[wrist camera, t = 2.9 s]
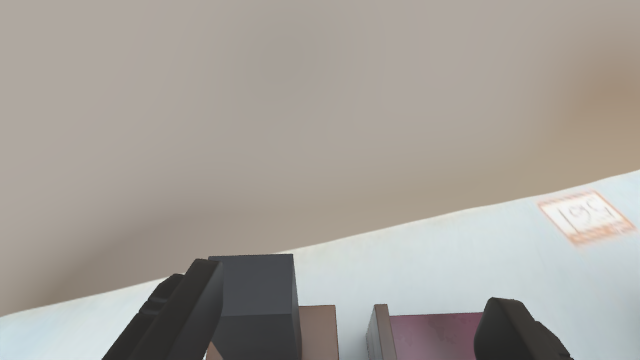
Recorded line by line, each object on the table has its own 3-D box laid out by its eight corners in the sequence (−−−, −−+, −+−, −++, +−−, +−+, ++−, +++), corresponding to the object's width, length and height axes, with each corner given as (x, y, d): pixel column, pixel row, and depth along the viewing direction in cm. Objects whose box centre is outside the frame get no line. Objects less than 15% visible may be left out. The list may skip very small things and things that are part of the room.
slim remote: (301, 333, 26) (292, 250, 18) (301, 382, 24) (291, 314, 15) (245, 335, 26) (208, 253, 18) (239, 384, 24) (194, 317, 15)
